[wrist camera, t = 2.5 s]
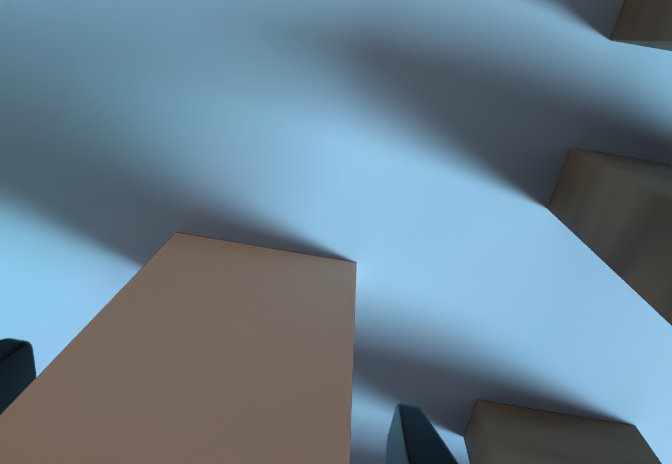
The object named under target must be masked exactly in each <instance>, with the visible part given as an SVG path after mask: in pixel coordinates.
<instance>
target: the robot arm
mask: <svg viewBox="0 0 672 464" xmlns="http://www.w3.org/2000/svg"><path fill="white" fill-rule="evenodd" d="M35 379H36V369H35V362H34V354H33V348H32V345H31V344H30V342H28V341H24V340H18V339H12V338H6V339H2V340H0V415H1V414H2V413H3V412H4V411H5V410H6V409H7V408H8V407H9V406H10V405H11V404H12V403H13V401H14V400H15V399H16V398H17V397H18V396H19V395H20V394H21V393H22V392H23V391H24V390H25V389H26V388H27V387H28V386H29V385H30V384H31V383H32V382H33V381H34V380H35ZM386 464H458V462H457V461H456V459H455V458H454V456H453V455H452V453H451V452H450V450H449V449H448V447H447V446H446V444H445V443H444V442H443V440H442V439H441V437H440V436H439V434H438V433H437V431H436V430H435V428H434V427H433V425H432V424H431V422H430V421H429V419H428V418H427V417H426V415H425V414H424V412H423V411H422V409H421V408H420V407H419V406H416V405H411V404H405V403H399V404H398V405H397V406H396V408H395V412H394V415H393V419H392V423H391V426H390V430H389V433H388V439H387V453H386Z"/></svg>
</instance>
